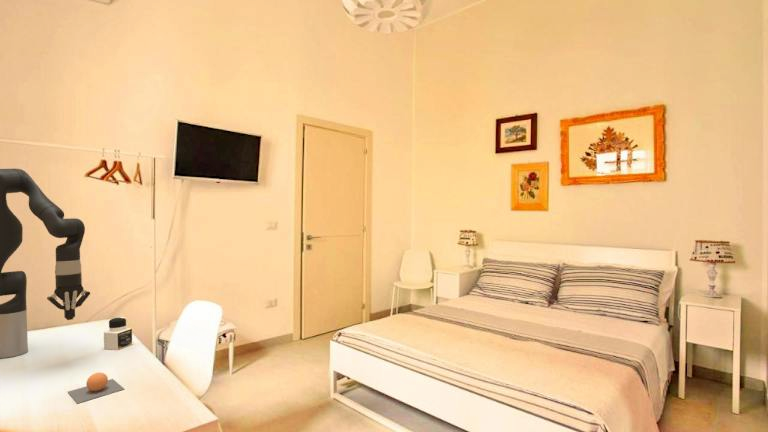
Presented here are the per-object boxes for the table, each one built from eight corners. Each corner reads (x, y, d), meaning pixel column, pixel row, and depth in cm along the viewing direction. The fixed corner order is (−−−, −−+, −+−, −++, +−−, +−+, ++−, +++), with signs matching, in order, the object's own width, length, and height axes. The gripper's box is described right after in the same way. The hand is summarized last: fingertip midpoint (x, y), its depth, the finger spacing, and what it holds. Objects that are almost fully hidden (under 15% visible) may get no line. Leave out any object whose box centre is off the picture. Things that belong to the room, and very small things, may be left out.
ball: (81, 389, 123) (83, 374, 122) (100, 381, 128) (101, 366, 127) (92, 397, 121) (93, 382, 120) (111, 389, 126) (112, 374, 125)
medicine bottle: (118, 350, 161) (117, 320, 161) (103, 349, 163) (102, 320, 163) (132, 344, 168) (131, 316, 168) (118, 343, 170) (117, 315, 170)
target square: (67, 392, 123) (67, 391, 123) (112, 379, 132) (112, 378, 132) (77, 403, 116) (77, 403, 116) (124, 389, 125) (124, 388, 125)
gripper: (48, 276, 138) (50, 325, 138) (93, 270, 149) (94, 316, 149) (42, 274, 142) (43, 322, 143) (86, 269, 153) (87, 314, 153)
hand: (69, 319), depth 146 cm, fingers closed
